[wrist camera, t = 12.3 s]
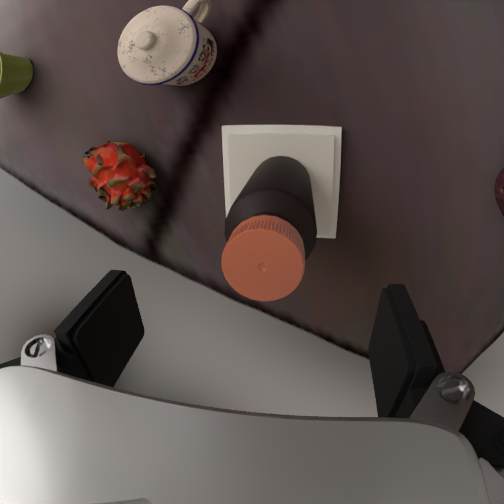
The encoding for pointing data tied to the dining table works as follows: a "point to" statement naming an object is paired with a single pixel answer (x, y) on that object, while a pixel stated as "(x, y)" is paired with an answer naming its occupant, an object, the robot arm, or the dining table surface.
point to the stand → (291, 145)
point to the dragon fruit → (119, 175)
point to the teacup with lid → (168, 45)
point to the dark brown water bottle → (270, 231)
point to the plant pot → (14, 74)
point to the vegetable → (500, 190)
